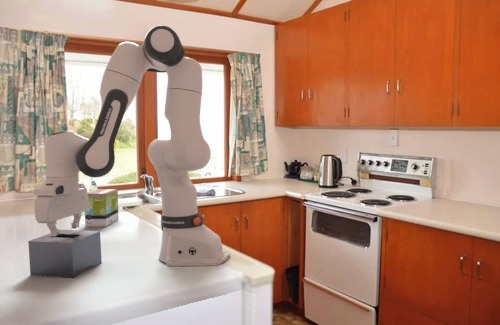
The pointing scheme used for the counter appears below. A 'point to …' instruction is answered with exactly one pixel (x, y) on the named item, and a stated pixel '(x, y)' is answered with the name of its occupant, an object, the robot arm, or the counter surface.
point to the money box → (65, 253)
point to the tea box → (102, 208)
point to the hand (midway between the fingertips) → (65, 231)
